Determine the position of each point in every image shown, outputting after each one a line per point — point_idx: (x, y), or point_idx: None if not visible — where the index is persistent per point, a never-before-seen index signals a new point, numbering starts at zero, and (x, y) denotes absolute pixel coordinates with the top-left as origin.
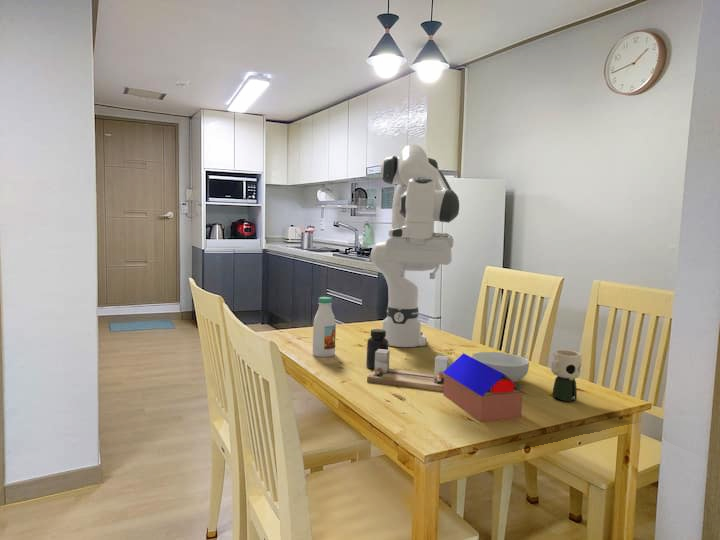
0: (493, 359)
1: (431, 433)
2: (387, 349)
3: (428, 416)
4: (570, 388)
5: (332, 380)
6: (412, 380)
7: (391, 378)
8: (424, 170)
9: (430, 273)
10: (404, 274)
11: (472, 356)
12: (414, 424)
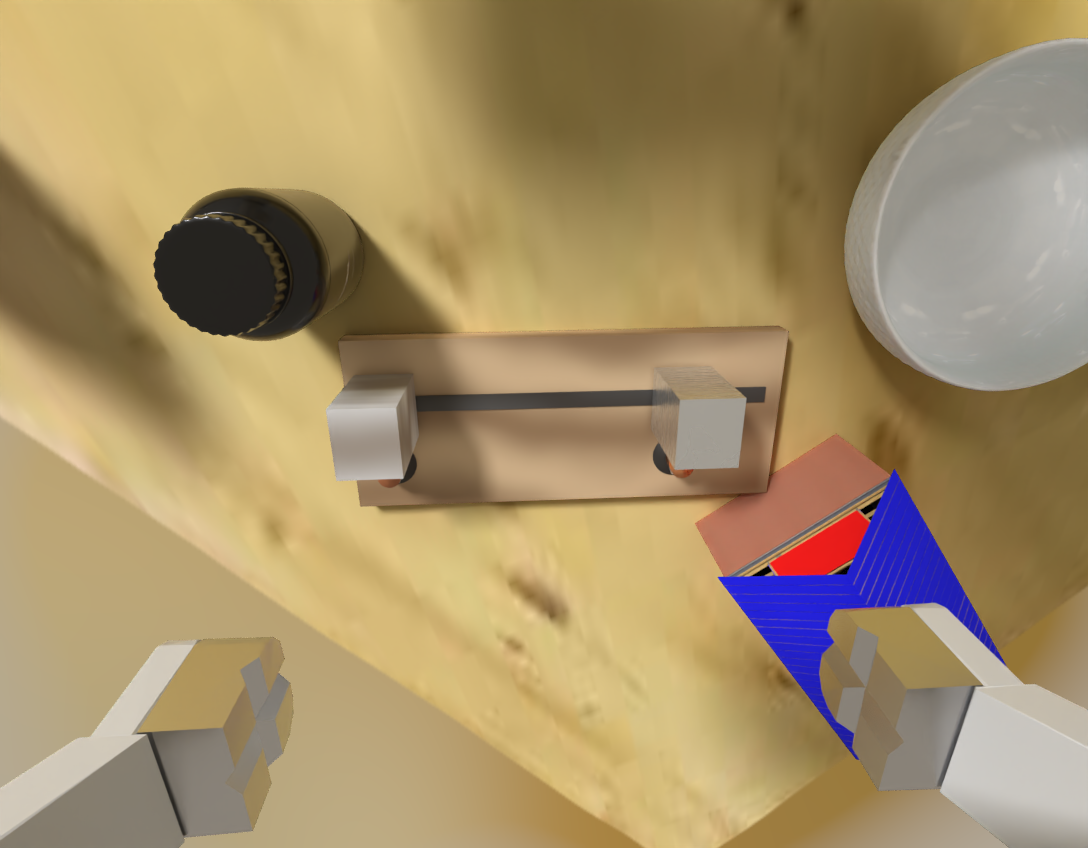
0: (997, 73)
1: (685, 792)
2: (339, 270)
3: (664, 706)
4: None
5: (226, 535)
6: (559, 474)
7: (466, 486)
8: None
9: (891, 784)
10: (264, 674)
11: (876, 261)
12: (634, 764)
